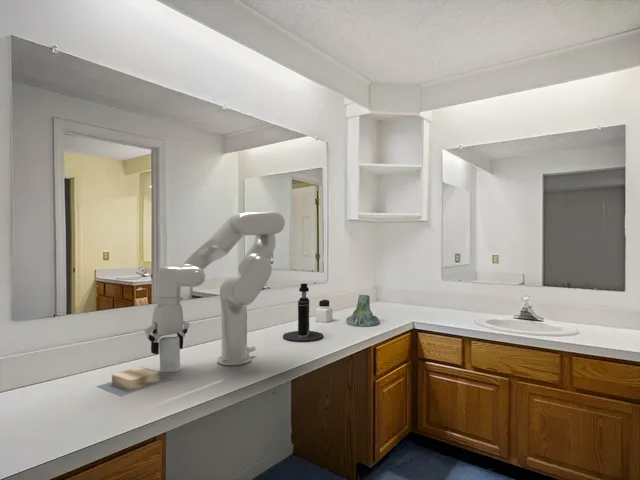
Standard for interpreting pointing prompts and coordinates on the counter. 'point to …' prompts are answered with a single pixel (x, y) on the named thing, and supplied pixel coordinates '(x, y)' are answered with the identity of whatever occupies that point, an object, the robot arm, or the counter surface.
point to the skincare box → (169, 354)
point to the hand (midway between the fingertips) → (167, 350)
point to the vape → (303, 322)
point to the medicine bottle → (324, 312)
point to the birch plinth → (135, 378)
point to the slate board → (122, 391)
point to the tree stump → (362, 314)
